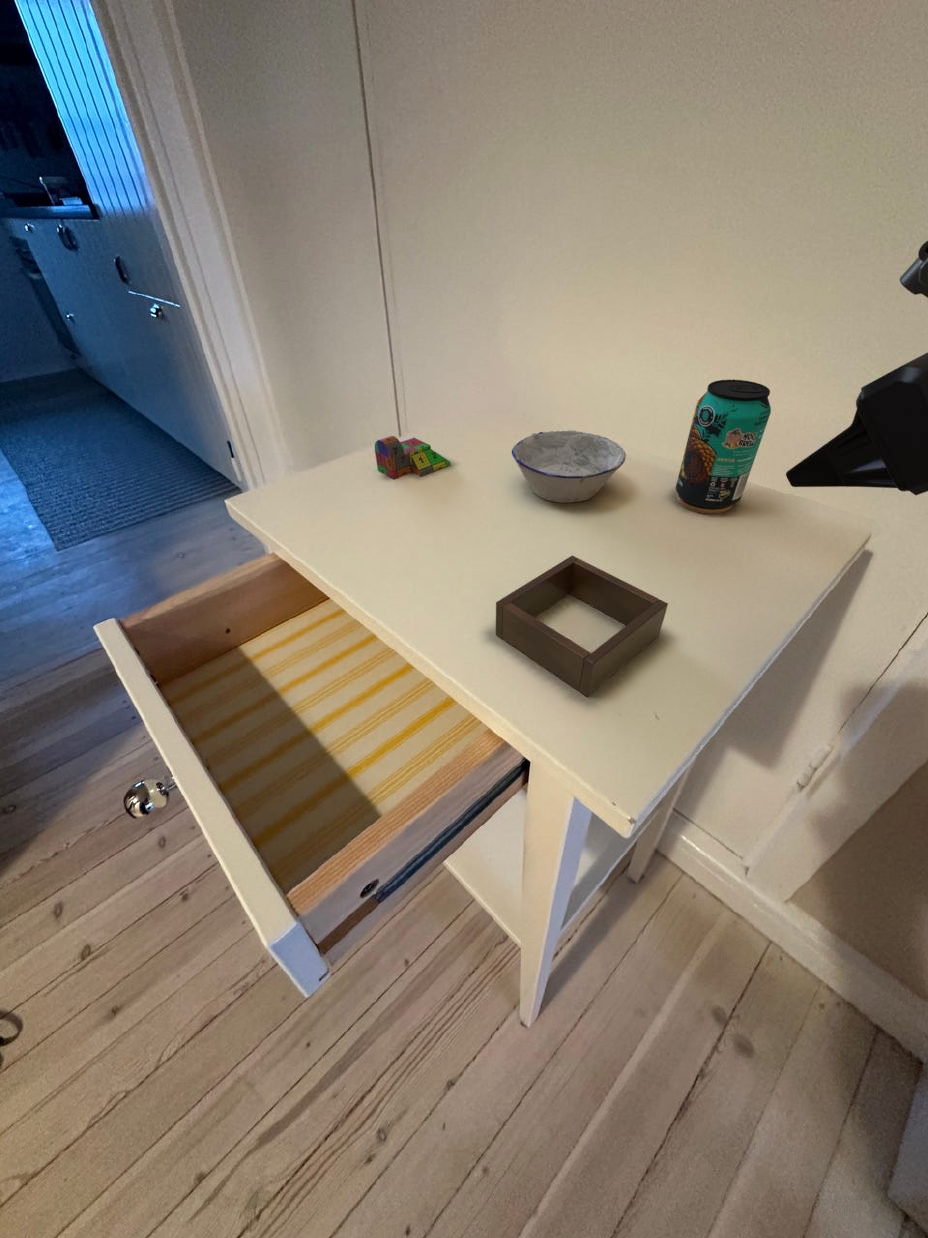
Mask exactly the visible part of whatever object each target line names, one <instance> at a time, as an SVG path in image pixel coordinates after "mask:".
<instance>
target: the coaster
mask: <svg viewBox="0 0 928 1238" xmlns="http://www.w3.org/2000/svg"><path fill="white" fill-rule="evenodd" d="M676 499H677V502H678V503H679V504H680V505H681V506H683V507H684V508H686V509H688V510H691V511H693V512H696V513H703V514H722V513H725V512H728V511H729V510H731V509H732V508H733V505H732V506H730V507H728V508H724V509H717V510H710V509H703V508H698V507H695V506H692V505H690V504H688V503H686V502H685V501H683V500H682V499H681V497H680V496H679V494H678V493H677V495H676Z"/></svg>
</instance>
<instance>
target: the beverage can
mask: <svg viewBox="0 0 928 1238" xmlns="http://www.w3.org/2000/svg"><path fill="white" fill-rule="evenodd" d="M706 389H707V390H706V391H705V393H704V394H703V395H702V396H700V398H699V399H698V400H697V402H696V405H695V409H694V413H693V416H692V421H691V425H690V428H689V433H688V436H687V440H686V445H685V449H684V453H683V457H682V460H681V465H680V468H679V473H678V476H677V480H676V483H675V491H676V493H677V495H678V494H679V496H680V497H681V499H682V500H683V501H685V502H686V503H688V504H690V505H692V506H695V507H698V508H703V509H710V510H717V509H724V508H728V507H730V506H732V507H733V505H735V504H737V503H738V502H740V501H741V499H742V497H743V495H744V491H745V488H746V486H747V483H748V480H749V477H750V474H751V471H752V468H753V465H754V462H755V460H756V458H757V457H756V456H757V453H758V451H759V448H760V445H761V442H762V439H763V436H764V434H765V431H766V428H767V425H768V422H769V418H770V416H771V413H772V407H771V403H770V400H769V398H768V397H769V396H770V395H771V390H770V388H769V387H767V386H766V385H764V384H761V383H759V382H755V381H752V380H751V381H750V380H744V379H720V380H714V381H712V382H710V383H709V384H708V385H707V388H706Z"/></svg>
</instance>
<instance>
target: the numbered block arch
mask: <svg viewBox="0 0 928 1238" xmlns="http://www.w3.org/2000/svg"><path fill="white" fill-rule="evenodd" d="M374 454H375V460H376V468H377V471H378V472H380V473H382V474H383V475H385V476H387V477H389V478H390V479H392V480H396V479H398V478H401V477H403V476H406V475H409V474H412V473H413V474H416V475H417V476H419V477H423V476H426V475H428V474H431V473H433V472H436V471H438V470H439V471H440V470H441V469H445V468H446V467H449V466H451V461H450V460H448V459H447V458H446V457H444V456H443V455H441V454H439V453H438V452H437V451H435V450H433V449H432V446H431V444H428V443H426V442H425V441H422V440H421V439H418V438H416V437H412V438H409V439H406V440H402V441H400V440H399V438H398V437H396V436H395V435H389V436H386V437H384V438H380V439H377V440H376V441H375V442H374Z"/></svg>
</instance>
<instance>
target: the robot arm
mask: <svg viewBox="0 0 928 1238" xmlns="http://www.w3.org/2000/svg"><path fill="white" fill-rule="evenodd" d="M917 254H918V255H917V256H918V257H917V258H916V259H915V260H914V261H913V262H912V264H911V265H910V266H909V267H908V268H907V269H906V270H905V271H904V273H902V275H901V276H900V277H899V283H900V285H901V286H902V287H903V288H905V289H906V290H907V291H908V292H910V293H911V294H912V295H914V296H916V295H922V296H924V297H925V298H927V299H928V240H926V241H925V242H924V243H923V244H922V245H921V246H920V248H919V249H918V253H917ZM855 407H856V410H855V413H854V416H853V420H852V422H851V424H850V425H849V426H848V427H847V428H846V429H844V430H842V432H840V433H838V434H837V435H836V436H835V437H833V438H832V439H830V440H829V441H827V442H826V443H825V444H823V445H822V446H820V447H819V448H818V449H816V450H815V451H814V452H812V453H810V455H808V456H807V457H805V458H804V459H802V460H801V461H800V462H798V463H796V465H794V466H792V467H791V468H790V469H788V470H787V471H786V472H785V477H786V479H787V480H788V483H789V485H790V486H791V487H793V488H844V487H845V488H881V489H897V490H899V491H900V492H910V493H911V494H912V495H914V496H918V495H919V496H920V495H922V494H924V493H927V492H928V352H925V353H924V354H921V355H920V356H918V357H916V358H915V359H912V360H910V361H908V362H906V363H904V364H902V365H901V366H899V367H897V368H895V369H893V370H891V371H889V372H887V373H886V374H884V375H882V376H880V377H878V378H877V379H874V380H873V381H871V382H869V383H867V384H865V385H864V386H862V387H860V392H859V393H858V395H857V398H856V400H855Z"/></svg>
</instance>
